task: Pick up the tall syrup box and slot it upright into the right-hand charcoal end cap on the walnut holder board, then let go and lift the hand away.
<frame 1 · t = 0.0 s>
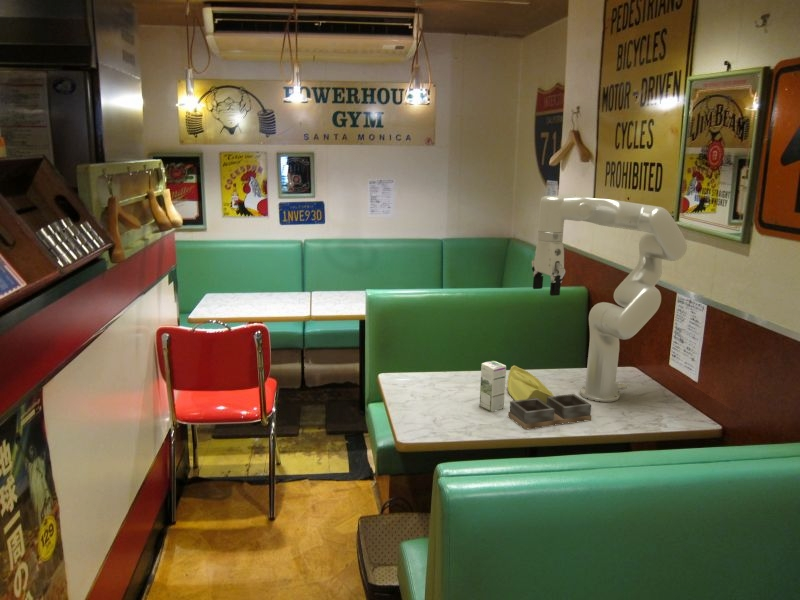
hand: (545, 291, 212), 37 cm above the table, tool pointing down, fingers open, 9 cm apart
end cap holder: (549, 418, 208), on the table
plastic component: (528, 396, 227), on the table
syrup box: (491, 408, 215), on the table
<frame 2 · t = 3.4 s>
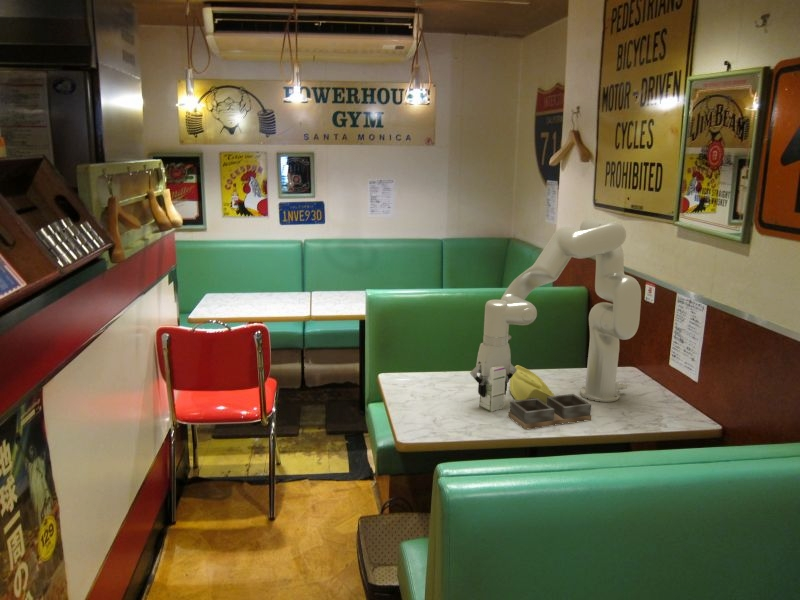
hand: (492, 394, 214), 4 cm above the table, tool pointing down, fingers closed on syrup box, 6 cm apart
syrup box: (491, 408, 215), on the table, touching gripper
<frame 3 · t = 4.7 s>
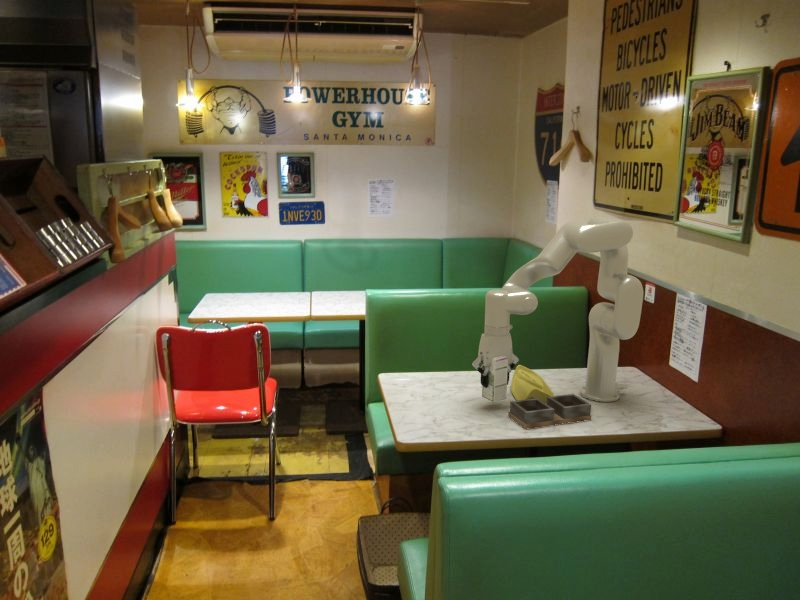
hand: (494, 384, 214), 8 cm above the table, tool pointing down, fingers closed on syrup box, 6 cm apart
syrup box: (494, 398, 215), point 3 cm above the table, touching gripper
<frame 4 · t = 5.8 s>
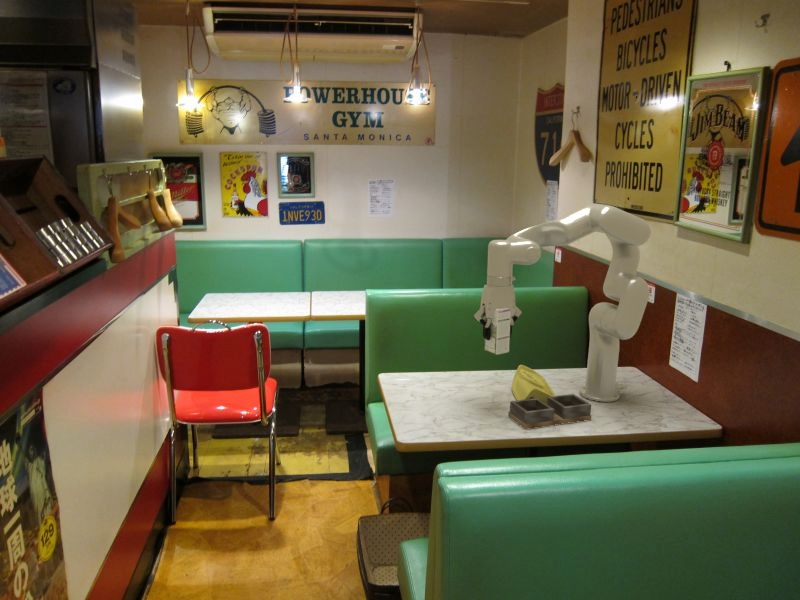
hand: (497, 337, 210), 23 cm above the table, tool pointing down, fingers closed on syrup box, 6 cm apart
syrup box: (496, 351, 211), point 18 cm above the table, touching gripper
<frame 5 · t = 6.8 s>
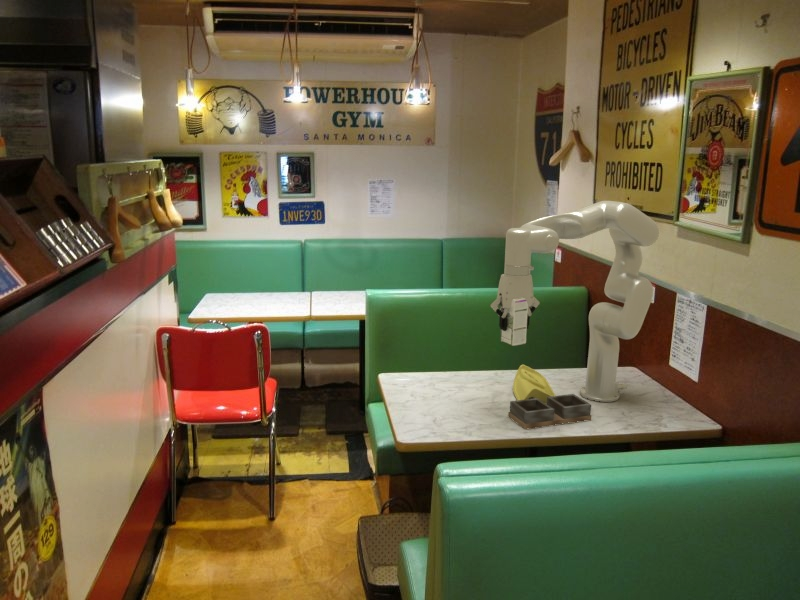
hand: (514, 328, 205), 27 cm above the table, tool pointing down, fingers closed on syrup box, 6 cm apart
syrup box: (512, 343, 206), point 22 cm above the table, touching gripper
when the fingers open (7 cm above the table, at t = 10.4 s): syrup box stays where it is, resting on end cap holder.
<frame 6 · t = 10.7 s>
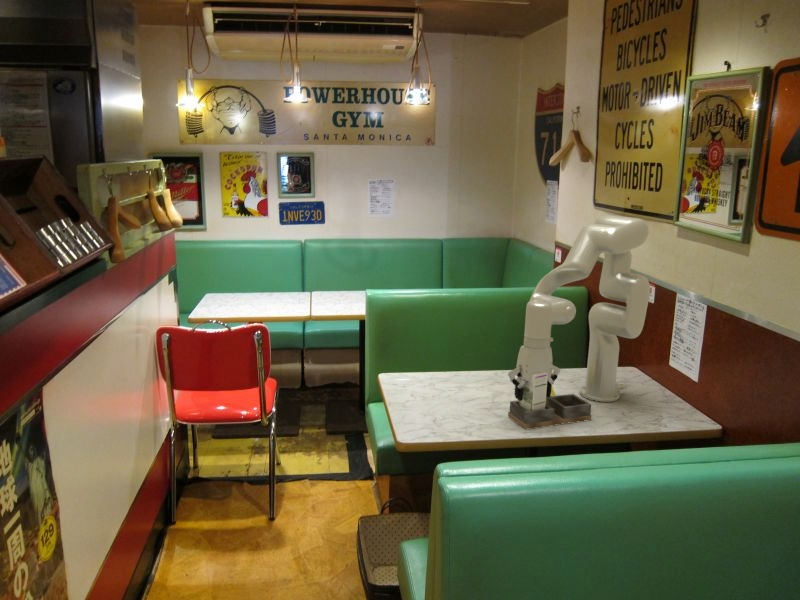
hand: (532, 397, 204), 8 cm above the table, tool pointing down, fingers open, 9 cm apart
syrup box: (531, 416, 205), point 1 cm above the table, touching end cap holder
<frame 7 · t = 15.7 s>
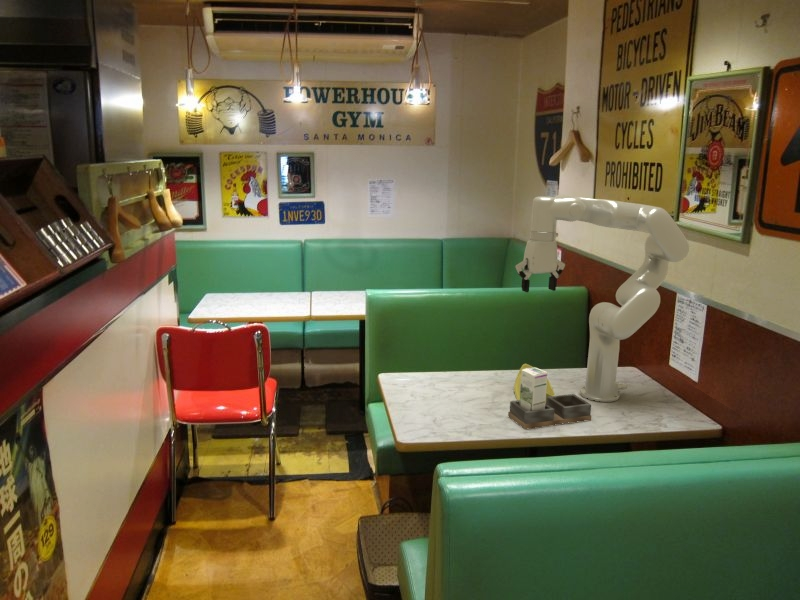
hand: (538, 290, 215), 36 cm above the table, tool pointing down, fingers open, 9 cm apart
at the end: syrup box 0.1 cm from the target spot on the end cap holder, point 1.3 cm above the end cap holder's base; syrup box tilted 0°; the gripper is holding nothing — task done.
